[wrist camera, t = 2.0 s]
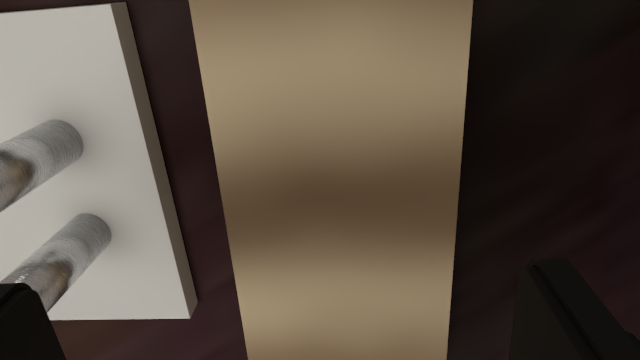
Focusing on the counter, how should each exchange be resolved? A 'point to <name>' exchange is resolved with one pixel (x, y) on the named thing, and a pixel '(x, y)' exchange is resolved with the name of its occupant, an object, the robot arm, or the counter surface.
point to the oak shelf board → (338, 169)
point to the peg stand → (85, 171)
